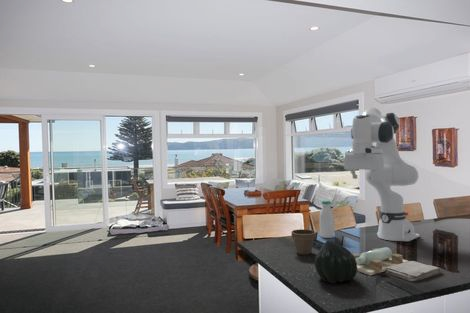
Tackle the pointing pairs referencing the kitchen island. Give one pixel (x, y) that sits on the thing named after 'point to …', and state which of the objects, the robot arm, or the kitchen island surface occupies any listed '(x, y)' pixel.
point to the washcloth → (412, 270)
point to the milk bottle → (326, 220)
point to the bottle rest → (379, 264)
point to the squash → (335, 263)
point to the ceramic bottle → (374, 256)
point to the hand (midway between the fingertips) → (363, 179)
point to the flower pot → (303, 240)
